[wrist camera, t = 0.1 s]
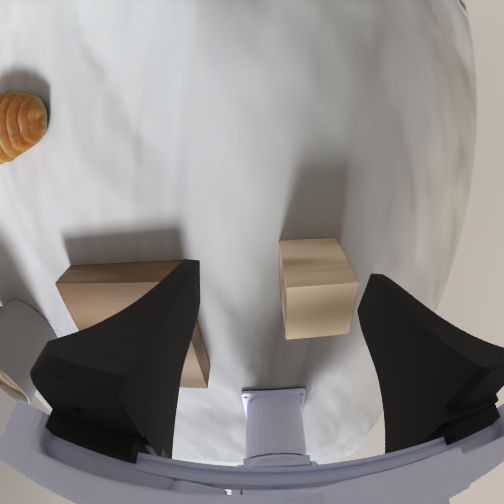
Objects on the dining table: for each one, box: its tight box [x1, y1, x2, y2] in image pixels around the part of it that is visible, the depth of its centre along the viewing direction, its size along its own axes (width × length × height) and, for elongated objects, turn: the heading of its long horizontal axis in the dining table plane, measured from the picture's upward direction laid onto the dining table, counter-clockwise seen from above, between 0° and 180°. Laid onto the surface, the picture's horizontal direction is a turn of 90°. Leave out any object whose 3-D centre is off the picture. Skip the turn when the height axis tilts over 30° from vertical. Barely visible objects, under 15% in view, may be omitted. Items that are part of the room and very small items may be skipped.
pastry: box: [0, 91, 47, 164], centre depth 14 cm, size 9×7×4 cm
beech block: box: [279, 238, 359, 340], centre depth 20 cm, size 4×4×6 cm
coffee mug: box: [0, 299, 57, 404], centre depth 23 cm, size 13×10×10 cm
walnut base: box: [55, 260, 210, 388], centre depth 25 cm, size 14×12×3 cm
